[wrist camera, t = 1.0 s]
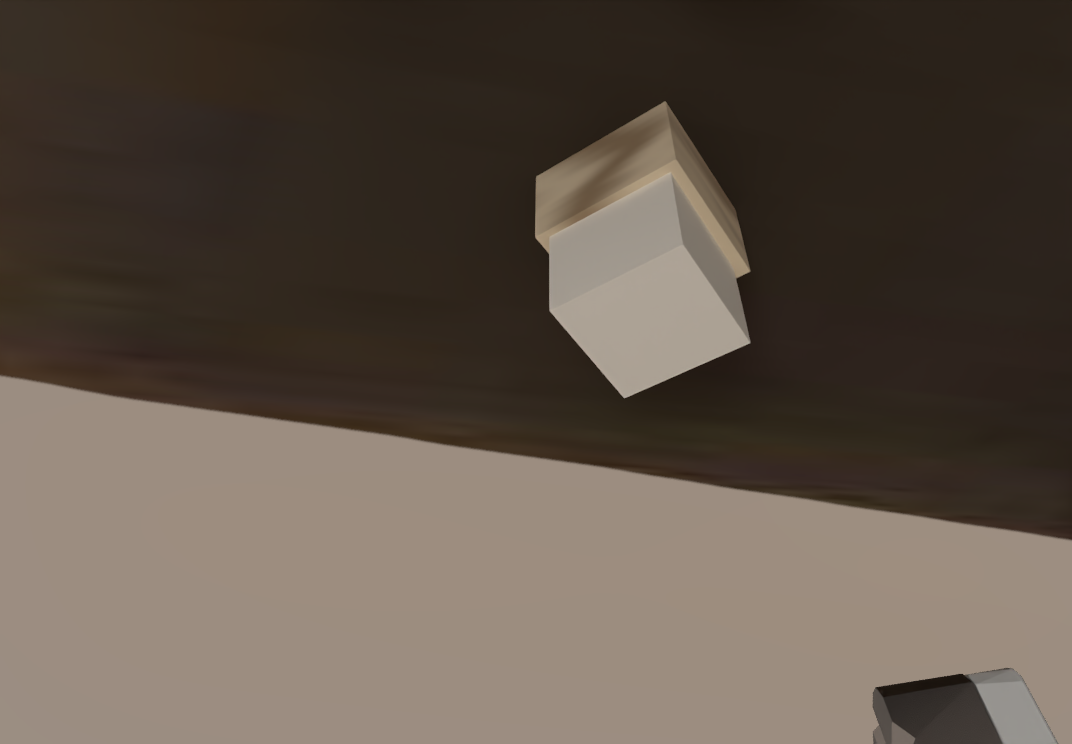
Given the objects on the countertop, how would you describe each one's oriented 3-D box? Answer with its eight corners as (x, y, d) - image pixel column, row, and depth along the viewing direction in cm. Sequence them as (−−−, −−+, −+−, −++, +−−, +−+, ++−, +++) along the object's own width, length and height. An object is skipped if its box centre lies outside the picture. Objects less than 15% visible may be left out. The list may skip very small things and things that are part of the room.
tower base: (665, 99, 43) (676, 159, 39) (734, 208, 47) (750, 271, 43) (536, 174, 46) (535, 237, 42) (612, 271, 50) (617, 335, 46)
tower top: (670, 171, 40) (682, 244, 36) (733, 268, 43) (750, 342, 40) (549, 236, 42) (549, 310, 38) (618, 323, 45) (624, 398, 42)
